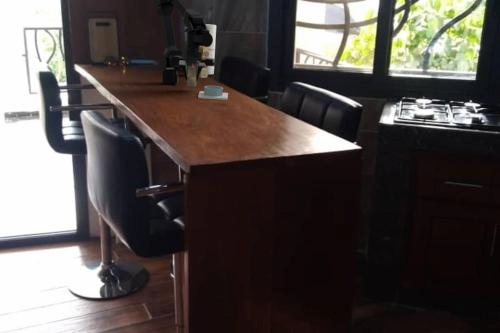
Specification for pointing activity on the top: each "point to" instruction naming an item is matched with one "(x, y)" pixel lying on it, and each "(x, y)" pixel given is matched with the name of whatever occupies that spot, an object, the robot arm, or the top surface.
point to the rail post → (191, 76)
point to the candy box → (204, 55)
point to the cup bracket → (213, 93)
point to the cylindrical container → (211, 48)
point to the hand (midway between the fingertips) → (191, 81)
